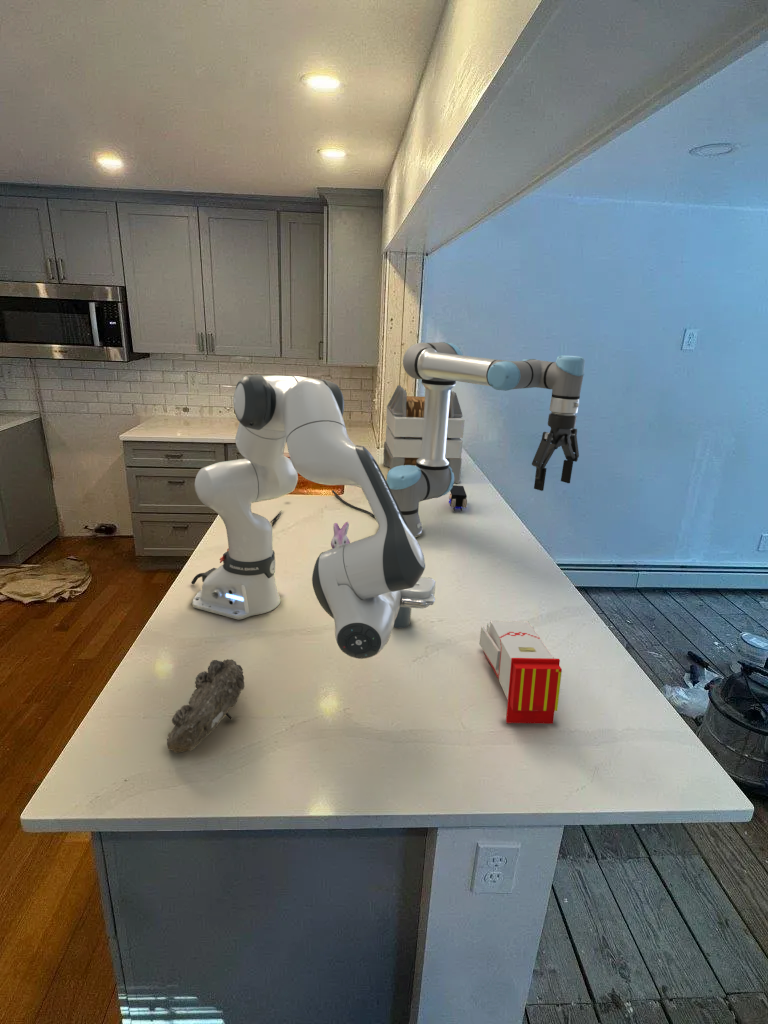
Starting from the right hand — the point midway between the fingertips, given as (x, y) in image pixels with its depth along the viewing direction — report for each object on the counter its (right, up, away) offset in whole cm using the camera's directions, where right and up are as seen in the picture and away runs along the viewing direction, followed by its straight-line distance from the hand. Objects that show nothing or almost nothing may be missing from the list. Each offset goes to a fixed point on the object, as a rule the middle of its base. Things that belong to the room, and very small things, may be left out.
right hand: (552, 485), depth 166 cm
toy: (-21, -44, -43) cm, 65 cm away
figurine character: (-20, -6, +64) cm, 67 cm away
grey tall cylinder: (-45, -36, -22) cm, 62 cm away
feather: (-88, -9, +47) cm, 101 cm away
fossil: (-82, -47, -57) cm, 110 cm away
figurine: (-61, -25, +5) cm, 67 cm away
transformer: (-32, +11, +109) cm, 115 cm away
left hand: (-48, -20, -49) cm, 72 cm away
